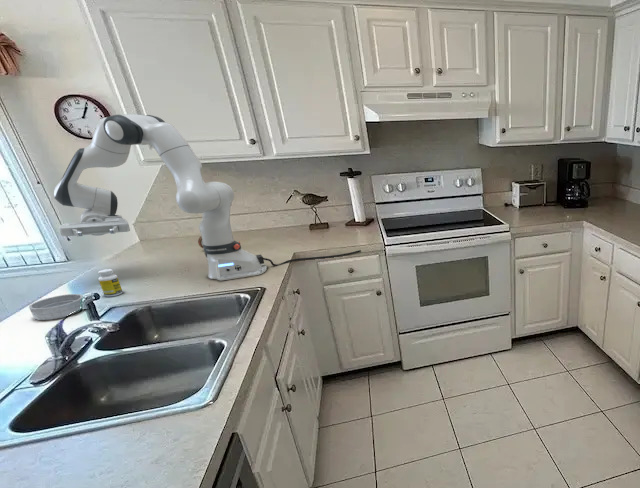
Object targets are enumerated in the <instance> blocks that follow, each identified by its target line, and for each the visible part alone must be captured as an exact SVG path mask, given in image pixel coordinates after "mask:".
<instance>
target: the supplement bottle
mask: <svg viewBox="0 0 640 488" xmlns="http://www.w3.org/2000/svg"><path fill="white" fill-rule="evenodd" d="M97 273H98V275H99V277H98V279H97V280H98V282H99V285H100V288H101V290H102V293H103V295H104V296H105V297H110V298H111V297H117V296H120V295H122V294H123V292H124V291H123V289H122V286H121V283H120V280H119V278H118V275H116V274H114V270H113V269H112V268H105V269H101V270H99V271H98V272H97Z"/></svg>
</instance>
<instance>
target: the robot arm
mask: <svg viewBox="0 0 640 488" xmlns="http://www.w3.org/2000/svg"><path fill="white" fill-rule="evenodd" d="M133 145H134V146H135V145H137V146H139V145H141V146H147V145H150V146H151V147H152V148H153V149H154V150H155V151H156V153H157V154H158V156H159V157H160V159H161V161H162V162H163V163H164V165H165V166H166V168H167V169H168V171H169V172H170V174H171V176H172V177H173V180H174V183H175V186H176V193H175V201H176V204H177V206H178V207H179V209H180V210H181V211H183V212H185V213H188V214H202V218H201V221H200V222H199V225H198V229H199V233H200V236H201V237H202V240H203V244H204V245H203V248H202V250H203V253H204V255H205V258H206V259H207V260H206V261H207V266H208V267H207V268H208V274H207V277H208V279H211V280H218V281H220V282H221V281H228V280H234V279H242V278H248V277H254V276H260V275H262V274H264V273H266V271H267V269H268V266H267V265H266V264H265V261H268V262H270V264H271V265H272V266H274V267H278V266H281V265H284V264H285V265H286V264H287V263H289V262H295V261H296V262H297V261H305V260H306V261H307V260H319V259H328V258H329V259H330V258H337V257H344V256H349V255H353V254H356V253H361V252H362V250H361V249H359V250H355V251H351V252H348V253H341V254H340V253H339V254H334V255H324V256H312V257H311V256H310V257H299V258H291V259H287V260H285V261H284V262H281V263H278V264H277V263H274V262H273V260H272V259H270V258H266V257H264V256H263V255H262V254H254V253H252V252H249V251H247V250H245V249H243V248H242V245H241V241H240V240H239V241H237V240H235V239H234V235H233V231H232V227H231V207H232V203H233V202H234V200H235V193H234V190H233V188H232V187H231V185H229V184H227V183H225V182H222V181H208V182H205V180H204V177H203V175H202V170H203V164H202V162H201V161H200V159H199V158H198V155H197V154H196V153H195V152H194V150H193V149H192V147H191V146H190V144H189V143H188V142H187V140H186V139H185V138H184V136H183V135H182V134H181V133H180V132H179V130H178V129H176V128H175V126H173V125H172V124H171V123H168V122H166V121H165V120H163V118H161V117H159V116H155V115H151V114H146V115H145V114H137V113H127V114H126V113H125V114H113V115H110V116H106V117H102V118H101V119H100V120H99V121H98V122H97V124H96V127H95V129H94V131H93V135H92V140H91V142H90V144H88V145H87V146H86V147H81V148H78V150H76V151H75V153H74V155H73V156H72V158H71V159H70V161H69V163H68V165H67V167H66V169H65V171H64V173H63V175H62V177H61V178H60V180H59V182H58V183H57V184H56V185H55V187H54V190H53V198H54V199H55V200H56V201H57V202H58V203H59V204H60V205H62V206H63V207H70V208H71V207H73V208H79V209H84V210H83V211H82V213H81V215H80V221H79V222H66V223H62V224H60V225H59V227H58V230H59V233H60V236H62V237H77V238H78V237H83V236H95V237H96V236H99V237H100V236H104V235H107V234H110V235H114V234H116V233H117V234H118V233H128V232H131V227H130V224H129V222H128V220H126V219H125V218H124V217H123V216H122V214H121V215H120V214H117V211H118V204H119V203H118V197H117V195H116V194H115V193H114V192H113V191H112V190H109V189H105V188H101V187H96V186H92V185H86V184H82V183H79V182H78V180H79V178H80V177H81V175H82V172H83V171H85V170H87V169H92V168H93V169H94V168H107V169H108V168H116V167H120V166H122V165H125V163H126V162H127V160H128V158H129V155H130V152H131V149H132V148H131V147H132V146H133Z"/></svg>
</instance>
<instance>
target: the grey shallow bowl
mask: <svg viewBox="0 0 640 488" xmlns="http://www.w3.org/2000/svg"><path fill="white" fill-rule="evenodd" d="M82 297H84V295H83V294H82V293H81V294H80V293H69V294H60V295H56V296H51V297H48V298H44V299H39V300H37V301H35V302H33V303H31V304H29V306H28V309H29V310H30V313H31V315H32V317H33V319H35V320H39V321H50V320H52V321H53V320H58V319H63V318H67V317H66V316H67V315H69V314H70V313H72V312H74V311H77V310H79V309H80V301H81V299H82Z"/></svg>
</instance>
